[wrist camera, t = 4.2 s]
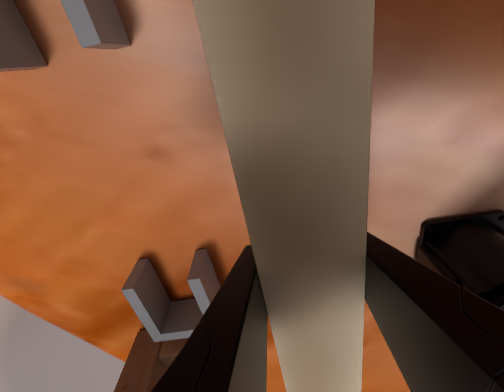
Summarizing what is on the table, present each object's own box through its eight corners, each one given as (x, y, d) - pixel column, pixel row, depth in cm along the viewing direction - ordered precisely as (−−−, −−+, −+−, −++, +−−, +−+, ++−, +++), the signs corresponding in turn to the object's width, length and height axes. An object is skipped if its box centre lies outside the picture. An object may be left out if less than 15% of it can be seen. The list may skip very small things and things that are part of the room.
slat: (317, -269, 5) (397, -665, 2) (340, 370, 15) (359, 436, 13) (163, -221, 5) (68, -518, 2) (290, 375, 15) (298, 441, 13)
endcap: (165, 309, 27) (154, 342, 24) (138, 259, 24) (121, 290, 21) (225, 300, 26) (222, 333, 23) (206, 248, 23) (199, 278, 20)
